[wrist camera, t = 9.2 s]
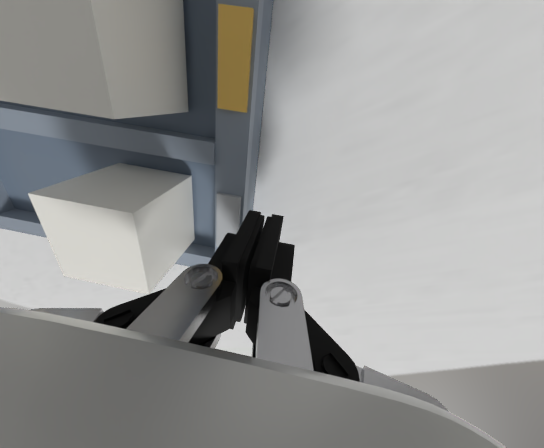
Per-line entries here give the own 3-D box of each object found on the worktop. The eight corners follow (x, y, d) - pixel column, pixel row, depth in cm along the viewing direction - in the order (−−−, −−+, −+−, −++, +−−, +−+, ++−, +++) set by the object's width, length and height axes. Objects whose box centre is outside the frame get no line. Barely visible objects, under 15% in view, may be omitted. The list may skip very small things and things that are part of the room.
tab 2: (191, 175, 12) (132, 213, 8) (194, 239, 14) (149, 294, 10) (119, 163, 12) (27, 193, 8) (132, 227, 14) (64, 276, 10)
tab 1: (182, -9, 8) (69, -106, 4) (188, 112, 10) (114, 119, 6) (81, -21, 9) (-112, -125, 5) (106, 99, 10) (-15, 98, 7)
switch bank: (313, -412, 6) (318, -879, 3) (249, 247, 16) (236, 278, 13) (-242, -417, 7) (-618, -770, 4) (32, 205, 17) (-22, 226, 14)
